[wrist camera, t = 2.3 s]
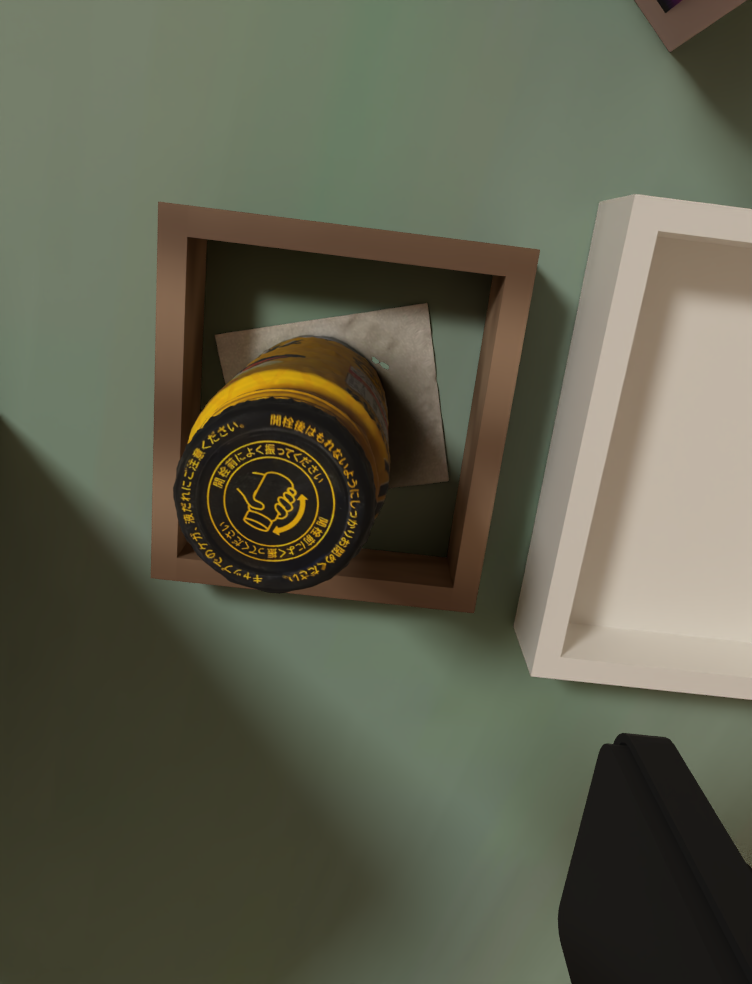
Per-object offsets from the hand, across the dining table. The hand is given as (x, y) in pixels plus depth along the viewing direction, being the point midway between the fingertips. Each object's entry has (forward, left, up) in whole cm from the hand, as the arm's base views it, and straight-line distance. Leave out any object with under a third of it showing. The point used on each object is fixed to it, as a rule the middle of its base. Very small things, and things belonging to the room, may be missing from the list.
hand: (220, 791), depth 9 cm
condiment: (0, 0, -22) cm, 22 cm away
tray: (0, +16, -22) cm, 27 cm away
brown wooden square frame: (0, 0, -22) cm, 22 cm away
